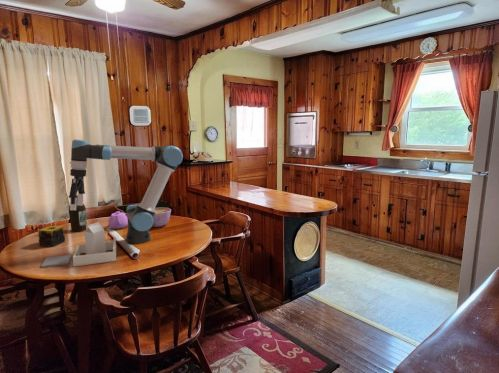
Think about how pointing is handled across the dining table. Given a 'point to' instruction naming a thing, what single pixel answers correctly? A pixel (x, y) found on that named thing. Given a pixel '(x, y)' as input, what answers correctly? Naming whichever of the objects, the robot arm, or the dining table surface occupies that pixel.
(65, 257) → the slate tile
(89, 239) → the milk carton
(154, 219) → the bowl of food
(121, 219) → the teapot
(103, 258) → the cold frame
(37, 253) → the dining table surface
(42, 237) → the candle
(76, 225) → the olive oil
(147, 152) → the robot arm
